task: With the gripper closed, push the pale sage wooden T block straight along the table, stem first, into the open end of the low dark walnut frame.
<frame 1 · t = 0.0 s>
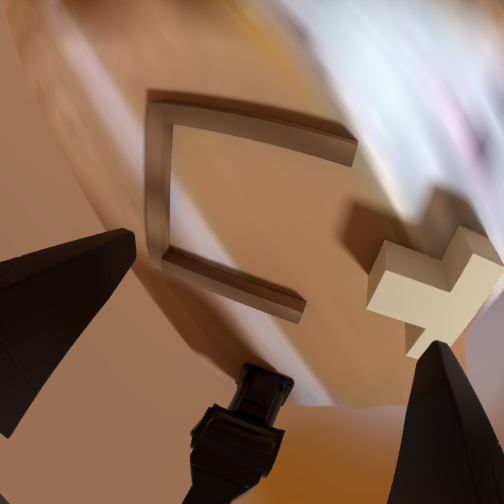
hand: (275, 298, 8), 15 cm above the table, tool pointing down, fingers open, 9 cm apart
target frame: (243, 213, 24), on the table
T block: (420, 274, 21), on the table
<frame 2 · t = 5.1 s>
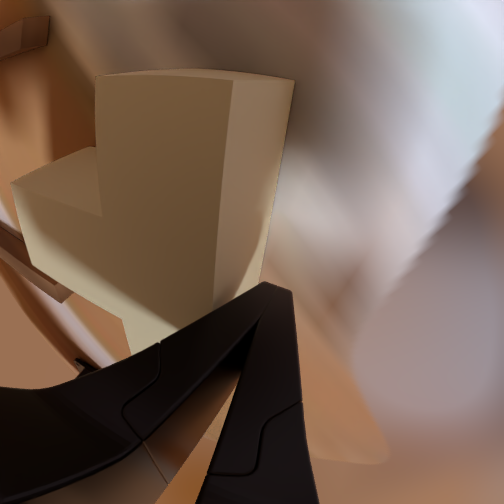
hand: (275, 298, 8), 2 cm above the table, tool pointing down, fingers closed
T block: (164, 205, 11), on the table, touching gripper
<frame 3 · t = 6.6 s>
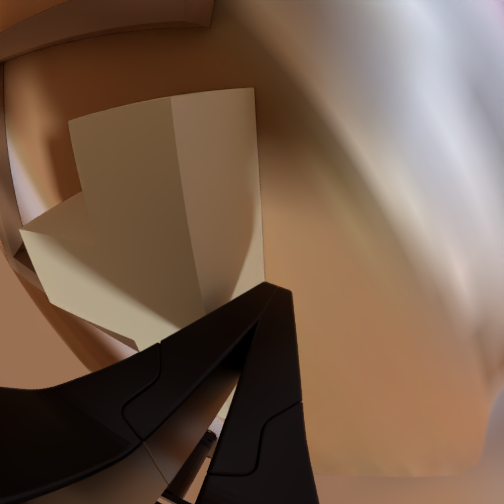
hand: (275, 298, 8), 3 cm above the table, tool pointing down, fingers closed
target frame: (69, 178, 12), on the table
T block: (164, 230, 12), on the table, touching gripper
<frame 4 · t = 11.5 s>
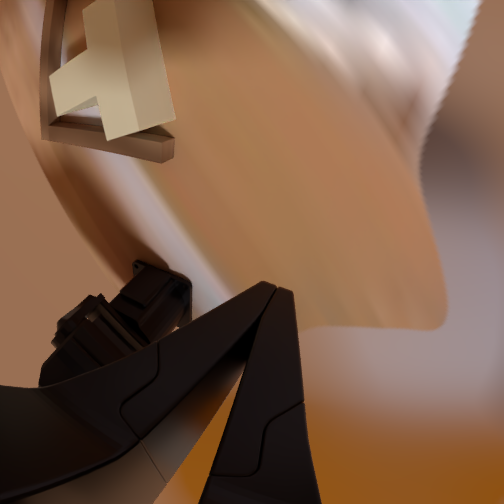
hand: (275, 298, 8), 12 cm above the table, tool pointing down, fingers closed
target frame: (109, 51, 18), on the table
T block: (121, 71, 18), on the table
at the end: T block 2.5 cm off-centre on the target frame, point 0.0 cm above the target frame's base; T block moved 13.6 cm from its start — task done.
